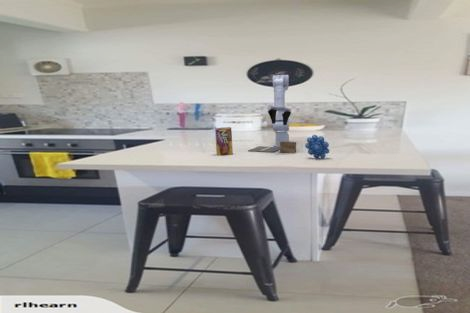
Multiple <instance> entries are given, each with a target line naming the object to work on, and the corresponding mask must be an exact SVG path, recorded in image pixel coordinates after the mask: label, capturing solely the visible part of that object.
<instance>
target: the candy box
mask: <svg viewBox="0 0 470 313" xmlns="http://www.w3.org/2000/svg"><path fill="white" fill-rule="evenodd" d="M232 132H233V131H232V127H231V126H227V127H226V126H225V127H215V128H214V134H215V148H216V149H215V150H216V156H218V155H219V156H230V155H233V154H234V153H233V152H234V150H233V134H232Z"/></svg>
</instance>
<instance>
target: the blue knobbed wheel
mask: <svg viewBox="0 0 470 313" xmlns="http://www.w3.org/2000/svg"><path fill="white" fill-rule="evenodd" d="M329 146H330V145H329V142H328V141H325V137H323V136H321V135H320V136H318V135H316V134H312V135H311V136H310V137H307V138H306V143H305V145H304V147H305V148H306V149H307V154H308V155H311V156H313V157H314V158H315V159H317V160H318V159H319V158H321V159H325V158H326V157H327V156H326V155H327V154H329V153H330V149H329Z"/></svg>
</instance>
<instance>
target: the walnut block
mask: <svg viewBox="0 0 470 313" xmlns="http://www.w3.org/2000/svg"><path fill="white" fill-rule="evenodd" d="M279 151H280V152H279V153H280V154H296V153H297V141H289V142H286V141H282V142H280V150H279ZM295 152H296V153H295Z"/></svg>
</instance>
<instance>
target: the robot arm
mask: <svg viewBox="0 0 470 313" xmlns="http://www.w3.org/2000/svg"><path fill="white" fill-rule="evenodd" d="M289 76H290V75H288V74H277V75H273V76H272V89H273V105H268V106H266V107H267V113H268V116H269V117H270V120H271V124H272V130H273V132H275V134H274V136H275V144H274V145H273V147H280V142H282V141H286V142H290V135H289V133H288V132H289V131H290V116H291V114H292V109H291V108H288V107H286V105H285V102H286V101H285V100H286V99H285V98H286V97H285V94H286V91H287V90H289V80H290V79H289Z"/></svg>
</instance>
